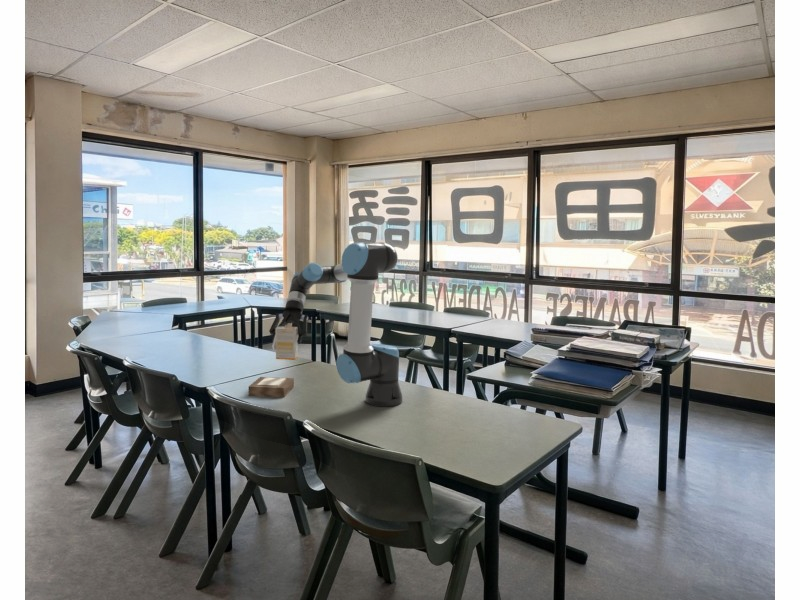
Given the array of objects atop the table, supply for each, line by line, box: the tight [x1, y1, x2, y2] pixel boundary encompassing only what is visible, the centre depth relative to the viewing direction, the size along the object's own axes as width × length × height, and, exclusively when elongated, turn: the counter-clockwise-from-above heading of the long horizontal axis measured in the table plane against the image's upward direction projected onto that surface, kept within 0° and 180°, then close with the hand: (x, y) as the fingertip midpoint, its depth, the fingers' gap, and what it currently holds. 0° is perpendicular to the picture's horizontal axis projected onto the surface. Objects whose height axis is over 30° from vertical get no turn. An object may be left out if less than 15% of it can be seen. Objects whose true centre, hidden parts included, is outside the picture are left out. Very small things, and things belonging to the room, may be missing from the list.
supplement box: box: [275, 326, 299, 361], centre depth 220 cm, size 8×5×13 cm, turn 84°
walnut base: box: [248, 376, 295, 398], centre depth 229 cm, size 15×15×4 cm
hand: (284, 349), depth 217 cm, fingers closed on supplement box, 8 cm apart
